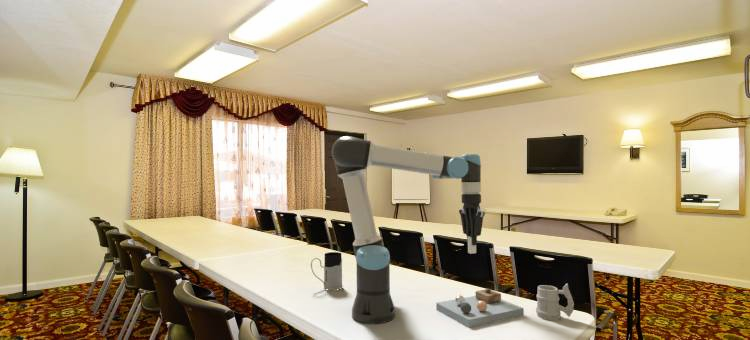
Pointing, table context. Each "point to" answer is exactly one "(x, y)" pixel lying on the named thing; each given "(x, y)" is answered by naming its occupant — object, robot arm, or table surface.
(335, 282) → the glass holder
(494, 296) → the cover
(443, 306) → the board
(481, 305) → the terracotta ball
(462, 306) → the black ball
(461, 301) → the steel ball
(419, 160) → the robot arm
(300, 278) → the table surface
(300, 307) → the table surface
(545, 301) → the mug
